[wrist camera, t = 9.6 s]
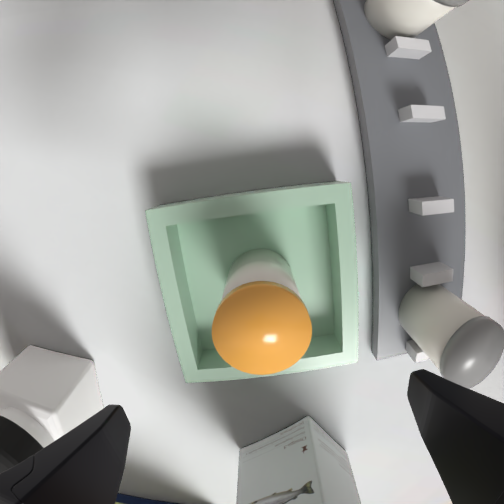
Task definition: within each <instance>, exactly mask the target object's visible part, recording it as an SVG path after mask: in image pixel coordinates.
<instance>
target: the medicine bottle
mask: <svg viewBox="0 0 504 504" xmlns="http://www.w3.org/2000/svg"><path fill="white" fill-rule="evenodd" d="M103 408H104V405H103V401H102V397H101V392H100V388H99V384H98V379H97V374H96V369H95V364H94V362H93V361H92V360H90V359H85V358H80V357H76V356H71V355H67V354H63V353H59V352H55V351H51V350H47V349H43V348H40V347H36V346H32V345H29V346H28V347H27V348H25V349H24V350H23V351H22V352H21V353H20V354H19V355H18V356H17V357H15V358H14V359H13V360H12V361H11V362H10V363H9V364H8V365H7V366H6V367H4V368H3V369H2V370H1V371H0V473H2V472H4V471H6V470H8V469H10V468H12V467H14V466H16V465H17V464H19V463H21V462H22V461H24V460H26V459H27V458H29V457H30V456H32V455H35V453H37V452H38V451H40V450H42V449H43V448H45V447H46V446H48V445H49V444H51V443H52V442H54V441H55V440H57V439H59V438H60V437H62V436H63V435H65V434H66V433H68V432H69V431H71V430H72V429H74V428H75V427H77V426H78V425H80V424H81V423H83V422H84V421H86V420H87V419H89V418H90V417H92V416H93V415H95V414H96V413H98V412H99V411H100V410H102V409H103Z"/></svg>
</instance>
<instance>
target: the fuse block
mask: <svg viewBox="0 0 504 504" xmlns="http://www.w3.org/2000/svg"><path fill="white" fill-rule="evenodd" d="M333 1H334V5H335V8H336V12H337V16H338V19H339V23H340V27H341V31H342V35H343V39H344V44H345V48H346V52H347V57H348V62H349V66H350V71H351V76H352V81H353V86H354V92H355V97H356V103H357V109H358V115H359V122H360V128H361V135H362V143H363V150H364V158H365V167H366V176H367V186H368V197H369V209H370V223H371V241H372V267H373V333H372V353H373V355H374V356H375V358H376V360H381V359H386V358H390V357H394V356H398V355H402V354H407V353H408V354H409V355H410V357H411V358H412V359H413V361H414V362H415V363H418V362H422V361H425V360H429V359H430V360H431V361H432V362H433V363H434V364H435V366H436V367H437V368H438V369H439V370H440V372H441V375H442V377H443V378H445V379H447V380H449V381H452V382H454V383H456V384H459V385H461V386H463V387H466V388H468V389H469V388H472V387H474V386H475V385H477V384H479V383H480V382H481V381H483V380H484V379H485V378H486V377H487V376H488V375H489V374H490V373H491V372H492V370H493V369H494V368H495V366H496V365H497V363H498V361H499V359H500V357H501V355H502V352H503V349H504V330H503V328H502V327H501V325H499V324H498V323H497V322H495V321H494V320H493V319H491V318H490V317H487V316H484V315H483V314H481V313H480V312H479V311H477V310H476V309H474V308H473V307H472V306H470V305H469V304H467V303H466V302H464V301H463V300H462V289H463V277H464V261H465V191H464V174H463V162H462V152H461V143H460V135H459V128H458V121H457V115H456V109H455V103H454V98H453V93H452V88H451V83H450V78H449V74H448V70H447V66H446V62H445V58H444V54H443V50H442V46H441V43H440V39H439V36H438V33H437V29H436V26H435V22H436V21H437V20H439V19H440V18H442V17H443V16H444V15H446V14H447V13H448V12H450V11H451V10H453V9H454V8H455V7H459V6H462V5H463V4H465V3H466V2H468V1H469V0H333Z"/></svg>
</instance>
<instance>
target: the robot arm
mask: <svg viewBox="0 0 504 504" xmlns="http://www.w3.org/2000/svg"><path fill="white" fill-rule="evenodd" d="M407 395H408V400H409V403H410V406H411V408H412V411H413V414H414V417H415V420H416V422H417V425H418V428H419V431H420V434H421V436H422V438H423V441H424V443H425V445H426V447H427V449H428V451H429V453H430V455H431V457H432V459H433V461H434V464H435V466H436V468H437V470H438V472H439V474H440V476H441V479H442V481H443V483H444V485H445V487H446V490H447V492H448V494H449V496H450V499H451V501H452V503H453V504H504V403H501V402H499V401H496V400H494V399H492V398H489V397H487V396H484V395H482V394H480V393H477V392H475V391H473V390H470V389H468V388H466V387H463V386H461V385H459V384H456V383H454V382H452V381H449V380H447V379H445V378H442V377H440V376H438V375H436V374H433V373H431V372H429V371H427V370H424V369H421V370H417V371H414V372H412V373H411V375H410V379H409V386H408V392H407ZM130 431H131V426H130V422H129V420H128V418H127V416H126V414H125V412H124V410H123V408H122V406H120V405H108V406H106V407H105V408H103V409H102V410H100V411H99V412H98V413H96V414H95V415H93V416H92V417H90V418H89V419H87V420H86V421H84V422H83V423H81V424H80V425H78V426H77V427H75V428H74V429H72V430H71V431H69V432H68V433H66V434H65V435H63V436H62V437H60V438H59V439H57V440H55V441H54V442H52V443H51V444H49V445H48V446H46V447H45V448H43V449H42V450H40V451H38V452H37V453H35V455H32V456H30V457H29V458H27V459H26V460H24V461H22V462H21V463H19V464H17V465H16V466H14V467H12V468H10V469H8V470H6V471H4V472H2V473H0V504H115V502H116V498H117V494H118V490H119V486H120V483H121V479H122V475H123V472H124V468H125V462H126V456H127V449H128V443H129V437H130Z"/></svg>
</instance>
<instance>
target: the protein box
mask: <svg viewBox="0 0 504 504" xmlns="http://www.w3.org/2000/svg"><path fill="white" fill-rule="evenodd" d="M115 504H178V503H170V502H163V501H156V500H150V499H144V498H139V497H134V496H129V495H124V494H119V493H118V494H117V498H116V502H115Z"/></svg>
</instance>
